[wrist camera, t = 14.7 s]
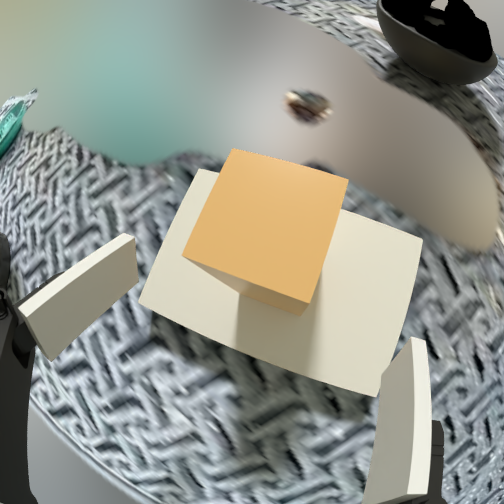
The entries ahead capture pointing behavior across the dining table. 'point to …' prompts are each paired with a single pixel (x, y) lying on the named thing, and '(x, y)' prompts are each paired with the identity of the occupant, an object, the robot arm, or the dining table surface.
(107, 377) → the dining table surface
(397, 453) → the robot arm
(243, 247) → the tan upright carton
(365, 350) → the plate
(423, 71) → the coal bowl
